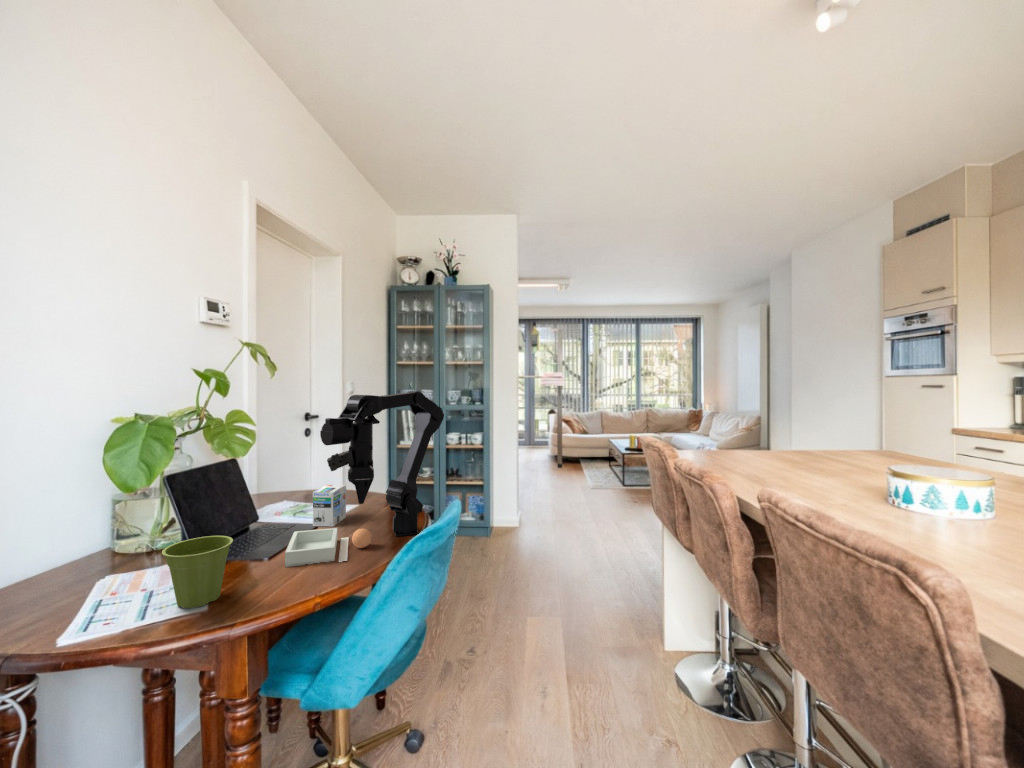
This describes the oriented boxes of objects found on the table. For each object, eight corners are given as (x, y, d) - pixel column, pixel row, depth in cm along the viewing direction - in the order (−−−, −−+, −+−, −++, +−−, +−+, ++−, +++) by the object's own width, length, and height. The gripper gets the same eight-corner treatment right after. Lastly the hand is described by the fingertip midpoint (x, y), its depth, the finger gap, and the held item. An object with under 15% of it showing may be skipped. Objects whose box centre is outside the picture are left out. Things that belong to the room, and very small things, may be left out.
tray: (337, 540, 127) (337, 527, 127) (334, 561, 112) (334, 547, 112) (294, 544, 123) (294, 531, 123) (285, 567, 108) (285, 552, 108)
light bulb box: (333, 527, 139) (333, 492, 139) (311, 527, 139) (311, 491, 139) (346, 517, 149) (346, 484, 149) (326, 516, 149) (326, 484, 149)
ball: (371, 543, 125) (371, 525, 125) (371, 549, 120) (371, 530, 120) (352, 545, 123) (352, 527, 123) (351, 551, 118) (351, 532, 118)
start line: (348, 537, 129) (348, 537, 129) (347, 561, 112) (347, 560, 112) (341, 538, 128) (341, 538, 128) (338, 562, 111) (338, 561, 111)
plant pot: (225, 582, 100) (225, 531, 100) (239, 601, 91) (239, 545, 91) (157, 600, 92) (157, 544, 92) (166, 622, 83) (166, 561, 83)
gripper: (331, 438, 128) (331, 493, 128) (326, 447, 110) (326, 511, 110) (372, 437, 131) (372, 490, 131) (374, 445, 114) (373, 507, 114)
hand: (361, 499), depth 122 cm, fingers open, 9 cm apart
